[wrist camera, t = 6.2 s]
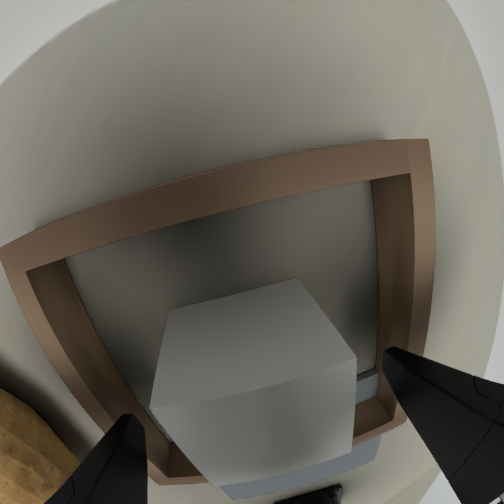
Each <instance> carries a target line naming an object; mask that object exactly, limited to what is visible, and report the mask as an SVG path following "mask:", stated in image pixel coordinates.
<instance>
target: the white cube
mask: <svg viewBox="0 0 504 504" xmlns="http://www.w3.org/2000/svg"><path fill="white" fill-rule="evenodd" d="M356 379H357V357H356V355H355V354H354V353H353V351H352V350H351V348H350V347H349V346H348V344H347V343H346V342H345V340H344V339H343V337H342V336H341V335H340V333H339V332H338V331H337V329H336V328H335V327H334V325H333V324H332V322H331V321H330V320H329V318H328V317H327V316H326V314H325V313H324V312H323V310H322V309H321V308H320V306H319V305H318V303H317V302H316V301H315V299H314V298H313V297H312V295H311V294H310V293H309V291H308V290H307V289H306V287H305V286H304V285H303V283H302V282H301V281H300V279H299V278H298V277H297V278H293V279H290V280H286V281H283V282H279V283H275V284H271V285H268V286H264V287H260V288H256V289H253V290H249V291H245V292H241V293H237V294H233V295H229V296H225V297H221V298H217V299H213V300H209V301H205V302H201V303H197V304H193V305H189V306H184V307H180V308H176V309H171V310H169V313H168V317H167V322H166V326H165V330H164V335H163V339H162V344H161V349H160V354H159V358H158V363H157V368H156V374H155V379H154V384H153V390H152V395H151V401H150V407H149V409H150V410H151V412H152V413H153V415H154V416H155V417H156V419H157V420H158V421H159V423H160V424H161V425H162V427H163V428H164V429H165V431H166V432H167V433H168V435H169V436H170V437H171V438H172V440H173V441H174V442H175V443H176V445H177V446H178V447H179V448H180V450H181V451H182V452H183V453H184V454H185V455H186V457H187V458H188V459H189V460H190V461H191V462H192V464H193V465H194V466H195V467H196V468H197V469H198V470H199V471H200V472H201V473H202V475H203V476H204V477H205V478H206V479H207V480H208V481H209V482H210V483H211V484H212V485H213V486H222V485H229V484H236V483H242V482H248V481H253V480H258V479H263V478H268V477H272V476H277V475H281V474H285V473H289V472H292V471H296V470H300V469H303V468H306V467H310V466H313V465H316V464H319V463H322V462H325V461H328V460H331V459H334V458H337V457H339V456H342V455H345V454H347V453H350V452H351V449H352V439H353V429H354V416H355V401H356Z"/></svg>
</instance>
